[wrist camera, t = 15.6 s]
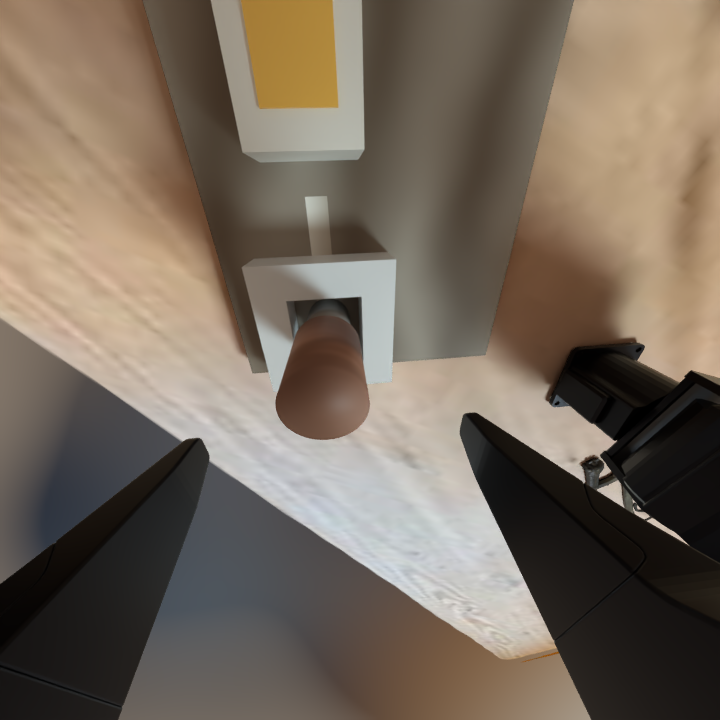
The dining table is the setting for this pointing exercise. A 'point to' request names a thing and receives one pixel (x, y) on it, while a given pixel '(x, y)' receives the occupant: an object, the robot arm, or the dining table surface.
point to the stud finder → (294, 77)
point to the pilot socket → (324, 281)
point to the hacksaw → (606, 482)
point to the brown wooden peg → (324, 376)
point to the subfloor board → (385, 160)
